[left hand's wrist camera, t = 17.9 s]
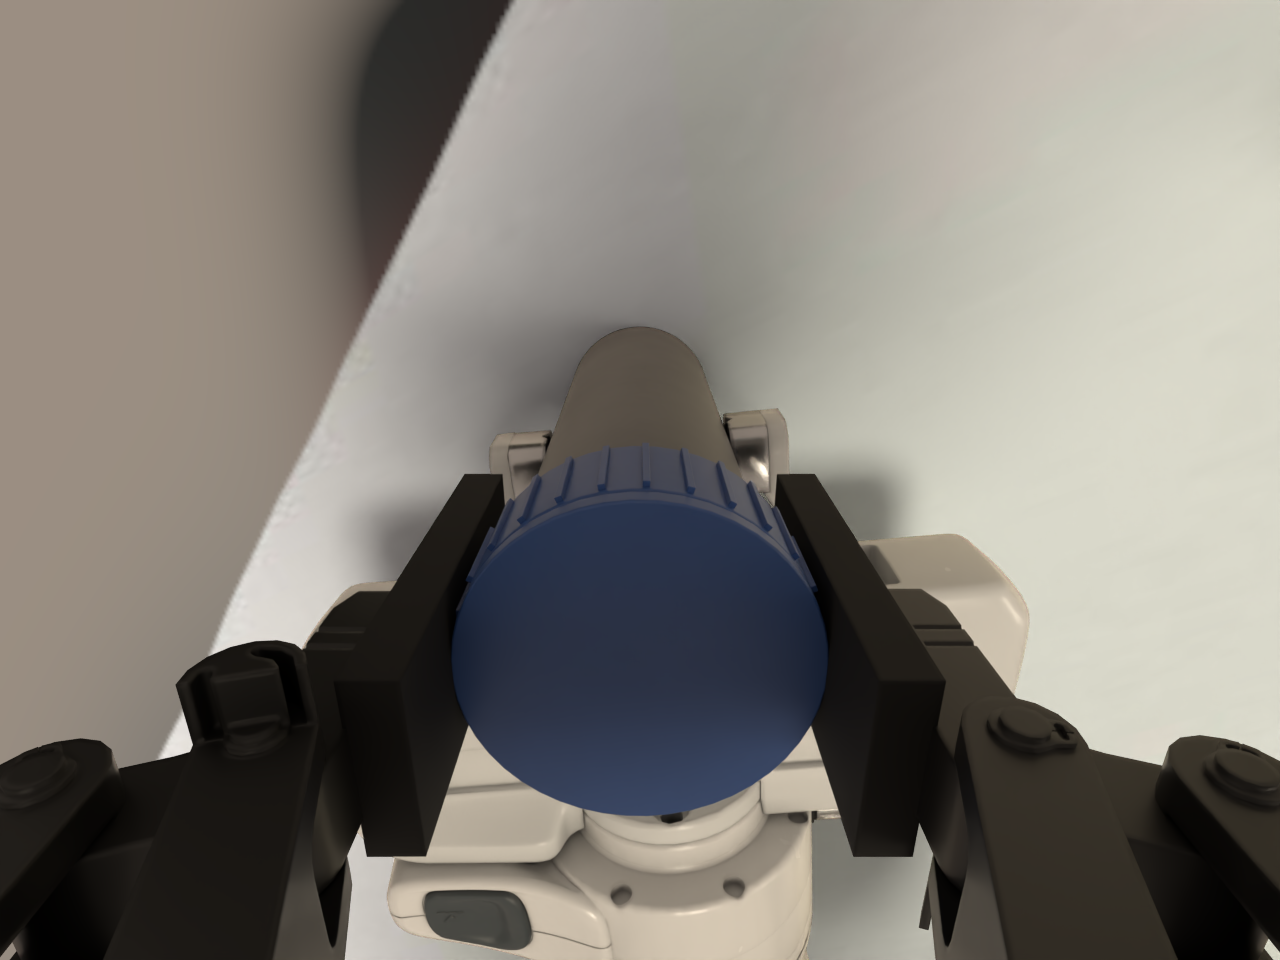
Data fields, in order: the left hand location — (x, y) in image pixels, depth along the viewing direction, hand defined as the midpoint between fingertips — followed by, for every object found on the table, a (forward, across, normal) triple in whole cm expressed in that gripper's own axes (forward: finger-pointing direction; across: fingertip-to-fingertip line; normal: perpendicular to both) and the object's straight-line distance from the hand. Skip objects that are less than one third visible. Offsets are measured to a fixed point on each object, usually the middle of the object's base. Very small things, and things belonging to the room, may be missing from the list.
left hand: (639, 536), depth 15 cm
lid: (-4, 0, 0) cm, 4 cm away
